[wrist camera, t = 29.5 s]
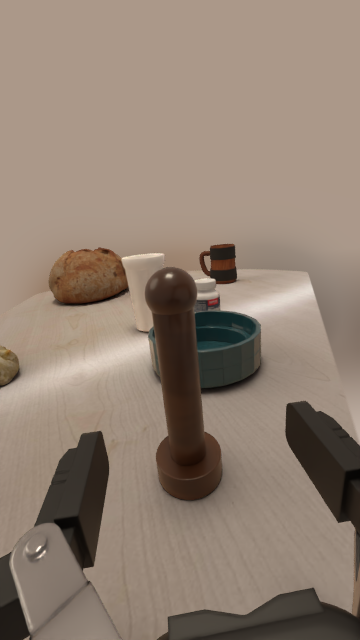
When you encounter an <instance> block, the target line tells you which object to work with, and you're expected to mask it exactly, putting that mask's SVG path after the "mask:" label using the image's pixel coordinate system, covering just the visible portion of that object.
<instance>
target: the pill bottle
mask: <svg viewBox="0 0 360 640" xmlns="http://www.w3.org/2000/svg"><path fill="white" fill-rule="evenodd" d="M195 284H196V287H197V301H196V304H195V306H194V312H196V311H215V310H219V311H220V295H219V292H218V291H217V290H215V288H216V280H215V279H211V278H205V279H198V280H195Z"/></svg>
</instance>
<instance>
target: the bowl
mask: <svg viewBox="0 0 360 640" xmlns="http://www.w3.org/2000/svg"><path fill="white" fill-rule="evenodd" d="M194 313H195V326H196V338H197V350H198V362H199V375H200V387H201V388H214V387H221V386H225V385H229V384H232V383H234V382H238V381H241V380H243V379H245V378H246V377H248V376H250V375H251V374H253V373H254V372H255V371H256V370H257V368H258V367H259V366H260V364H261V325H260V324H259V322H258V321H257V320H256V319H254V318H252V317H250V316H248V315H245V314H241V313H237V312H230V311H219V310H215V311H196V312H194ZM148 338H149V345H150V352H151V359H152V366H153V368H154V370H155V372H156V374H157V375H158V376H160V370H159V363H158V355H157V348H156V340H155V333H154V326H153V327H152V328H151V329H150V330H149V335H148Z"/></svg>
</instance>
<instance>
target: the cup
mask: <svg viewBox="0 0 360 640" xmlns="http://www.w3.org/2000/svg"><path fill="white" fill-rule="evenodd" d="M122 264H123V267H124V268H125V271H126V276H127V281H128V286H129V291H130V296H131V301H132V306H133V311H134V315H135V320H136V325H137V329H138V330H140V331H149V330H150V329H151V328H152V327H153V318H152V311H151V310H150V309H149V307H148V305H147V303H146V300H145V287H146V284H147V282H148V280H149V278H150V277H151V276H152V275H153V274H154V273H155V272H156V271H158V270H160V269H162V268H163V264H164V254H162V253H153V254H142V255H135V256H129V257H124V258H122Z"/></svg>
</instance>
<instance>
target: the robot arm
mask: <svg viewBox="0 0 360 640" xmlns="http://www.w3.org/2000/svg"><path fill="white" fill-rule="evenodd" d="M285 432H286V439H287V442H288V444H289V446H290V448H291V450H292V451H293V453H294V454H295V456H296V457H297V459H298V461H299V462H300V464H301V465H302V467H303V468H304V470H305V471H306V473H307V475H308V476H309V478H310V479H311V481H312V482H313V484H314V485H315V487H316V489H317V490H318V492H319V493H320V495H321V496H322V498H323V499H324V501H325V503H326V504H327V506H328V507H329V509H330V510H331V512H332V513H333V515H334V517H335V518H336V520H337V521H338V523H340V522H346V521H351V522H352V524H353V525H354V527H355V533H354V592H353V605H352V614H351V613H349V612H347V611H346V610H344V609H341V608H339V607H337V606H334V605H331V604H328V603H324V602H320V601H319V598H318V596H317V594H316V592H315V590H314V588H310V589H305V590H300V591H295V592H290V593H285V594H280V595H278V596H276V597H274V598H273V599H271V600H270V601H268V602H266V603H265V604H263V605H262V606H260V607H258V608H257V609H255V610H254V611H252V612H250V613H249V614H247V615H238V614H231V613H224V612H218V611H211V610H200V611H195V612H190V613H185V614H180V615H175V616H170V617H168V632H167V633H165V634H164V635H162V636H161V637H159V638H158V639H157V640H360V446H359V445H358V444H357V442H356V441H355V440H354V439H353V438H352V437H350V436H349V434H348V433H347V432H346V431H345V430H344V429H342V427H341V426H340V425H339V424H338V423H337V422H336V421H335V420H334V419H333V418H332V417H330V416H328V415H327V414H325V413H323V412H321V411H318V412H316V411H315V410H314V409H313V408H312V407H311V405H310V404H309V403H308V402H306V401H301V402H294V403H288V404H287V407H286V431H285ZM108 476H109V461H108V456H107V452H106V447H105V443H104V439H103V435H102V432H101V431H97V432H90V433H83V434H82V435H81V437H80V440H79V443H78V446H77V448H73V449H69V450H68V451H67V452H66V453H65V455H64V456H63V457H62V458H61V459H60V461H59V464H58V466H57V469H56V471H55V475H54V477H53V479H52V482H51V485H50V487H49V490H48V492H47V495H46V497H45V500H44V502H43V505H42V508H41V510H40V513H39V515H38V518H37V521H36V523H35V526H34V528H32V529H31V530H29V531H28V532H27V533H25V534H24V535H23V536H22V537H21V538H20V540H19V541H18V542H17V544H16V545H15V547H14V549H13V550H12V552H10V553H9V554H7V555H5V556H3V557H1V558H0V640H23V639H25V638H26V637H28V636H30V638H29V640H122V639H121V637H120V635H119V633H118V631H117V629H116V627H115V625H114V624H113V622H112V620H111V618H110V616H109V614H108V612H107V610H106V609H105V607H104V605H103V603H102V601H101V599H100V597H99V595H98V594H97V592H96V590H95V588H94V586H93V585H92V583H91V582H90V581H89V582H88V580H87V578H86V577H85V575H84V573H83V568H88V567H94V562H95V556H96V549H97V543H98V537H99V531H100V525H101V519H102V513H103V507H104V501H105V495H106V489H107V483H108Z"/></svg>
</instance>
